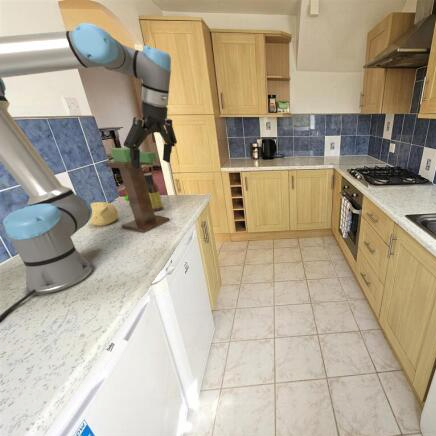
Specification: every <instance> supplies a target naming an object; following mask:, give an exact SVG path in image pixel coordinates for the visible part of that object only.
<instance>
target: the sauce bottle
mask: <svg viewBox="0 0 436 436" xmlns="http://www.w3.org/2000/svg"><path fill="white" fill-rule="evenodd" d="M143 174H144V177H145V181H146V185H147V188H148V192H149V196H150V200H151V203H152V207H153V211H154V212H158V211H161V210H163V209H164V206H163V201H162V197H161V193H160V189H159V186H158V184H157V183H156V182H155V180H154V176H153V173H150V172H149V173H143Z"/></svg>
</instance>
